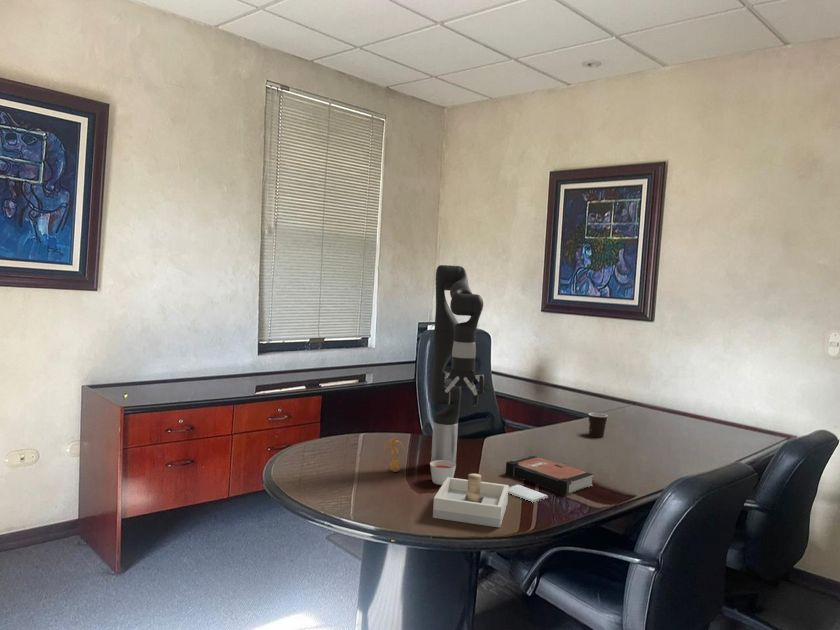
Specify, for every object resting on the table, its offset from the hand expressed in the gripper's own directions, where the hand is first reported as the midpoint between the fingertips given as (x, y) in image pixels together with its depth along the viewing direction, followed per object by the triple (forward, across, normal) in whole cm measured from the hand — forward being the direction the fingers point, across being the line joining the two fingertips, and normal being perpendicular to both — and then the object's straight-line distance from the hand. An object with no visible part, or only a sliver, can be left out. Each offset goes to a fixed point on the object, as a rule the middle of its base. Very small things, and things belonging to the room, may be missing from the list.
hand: (461, 404), depth 203 cm
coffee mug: (+30, -48, -103) cm, 118 cm away
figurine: (+30, +26, -16) cm, 43 cm away
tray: (+30, -7, +11) cm, 33 cm away
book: (+31, -29, -28) cm, 51 cm away
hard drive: (+31, -22, -9) cm, 39 cm away
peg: (+30, -7, +8) cm, 32 cm away
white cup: (+30, +7, -11) cm, 33 cm away
